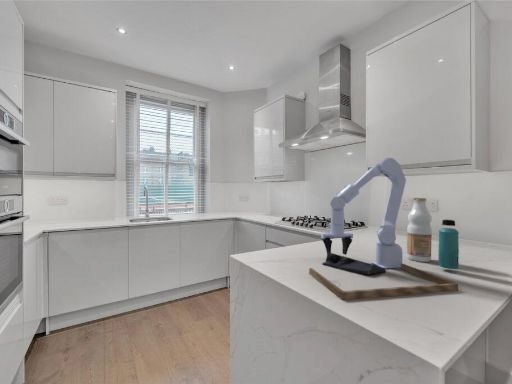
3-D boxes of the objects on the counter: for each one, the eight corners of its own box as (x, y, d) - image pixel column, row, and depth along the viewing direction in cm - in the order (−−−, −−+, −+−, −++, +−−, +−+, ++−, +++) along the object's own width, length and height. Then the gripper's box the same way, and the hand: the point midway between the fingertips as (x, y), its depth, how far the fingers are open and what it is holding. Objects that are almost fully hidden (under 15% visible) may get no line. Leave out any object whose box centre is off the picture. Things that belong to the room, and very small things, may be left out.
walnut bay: (403, 268, 102) (403, 263, 102) (458, 290, 80) (458, 284, 80) (309, 273, 94) (309, 268, 94) (341, 299, 72) (342, 292, 72)
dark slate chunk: (367, 280, 90) (367, 266, 90) (318, 264, 107) (318, 253, 107) (389, 272, 98) (390, 260, 98) (341, 259, 116) (341, 249, 116)
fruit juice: (401, 257, 120) (402, 197, 119) (417, 256, 122) (418, 197, 122) (419, 263, 110) (420, 198, 110) (436, 261, 113) (437, 198, 113)
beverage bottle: (459, 274, 96) (461, 221, 96) (438, 271, 99) (439, 219, 99) (457, 270, 101) (458, 219, 101) (436, 267, 105) (438, 218, 105)
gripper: (347, 222, 119) (346, 251, 119) (318, 222, 116) (317, 252, 116) (356, 224, 112) (355, 255, 112) (325, 225, 109) (324, 256, 109)
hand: (336, 254), depth 113 cm, fingers open, 7 cm apart
